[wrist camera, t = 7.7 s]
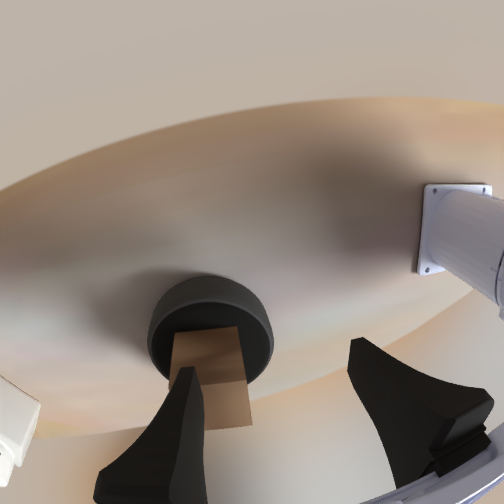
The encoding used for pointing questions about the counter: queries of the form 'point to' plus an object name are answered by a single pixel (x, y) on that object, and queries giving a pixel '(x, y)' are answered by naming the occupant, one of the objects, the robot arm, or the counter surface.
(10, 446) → the medicine bottle
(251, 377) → the smart speaker
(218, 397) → the walnut block
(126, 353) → the counter surface
